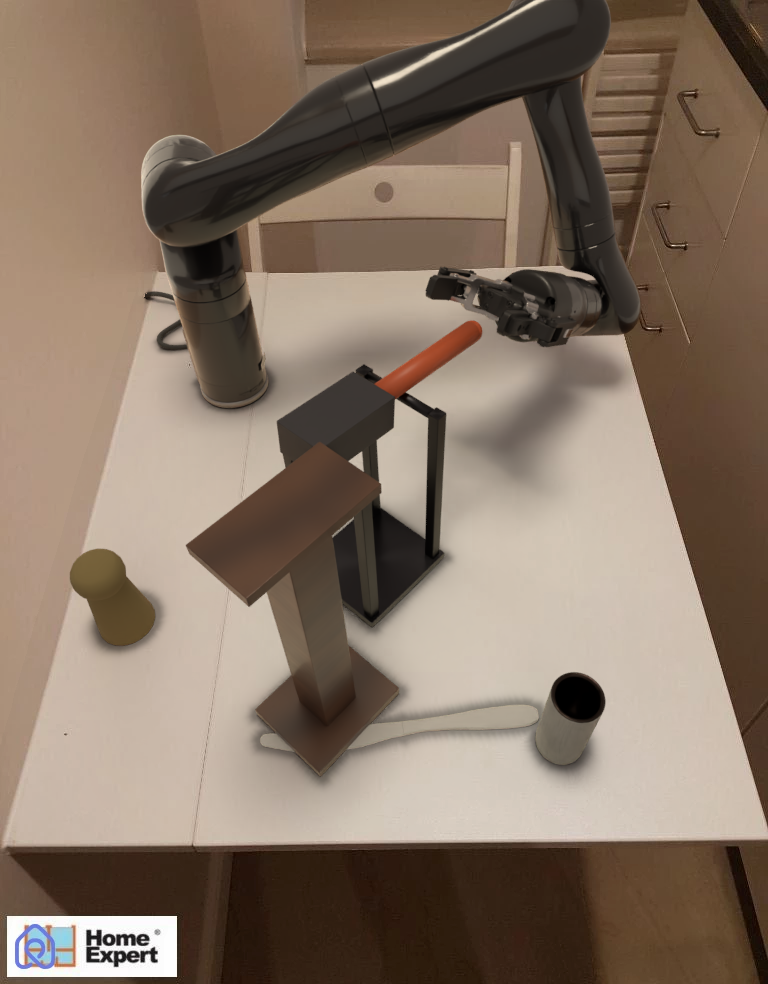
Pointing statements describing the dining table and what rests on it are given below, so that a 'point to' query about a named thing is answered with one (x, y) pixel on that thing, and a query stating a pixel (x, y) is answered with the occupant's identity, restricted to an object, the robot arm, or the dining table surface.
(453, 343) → the orange-handled mallet
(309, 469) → the wooden pedestal stand
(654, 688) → the dining table surface
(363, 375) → the black rack
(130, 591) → the olive pawn
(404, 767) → the dining table surface
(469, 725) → the butter knife
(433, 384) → the dining table surface
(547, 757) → the planter
